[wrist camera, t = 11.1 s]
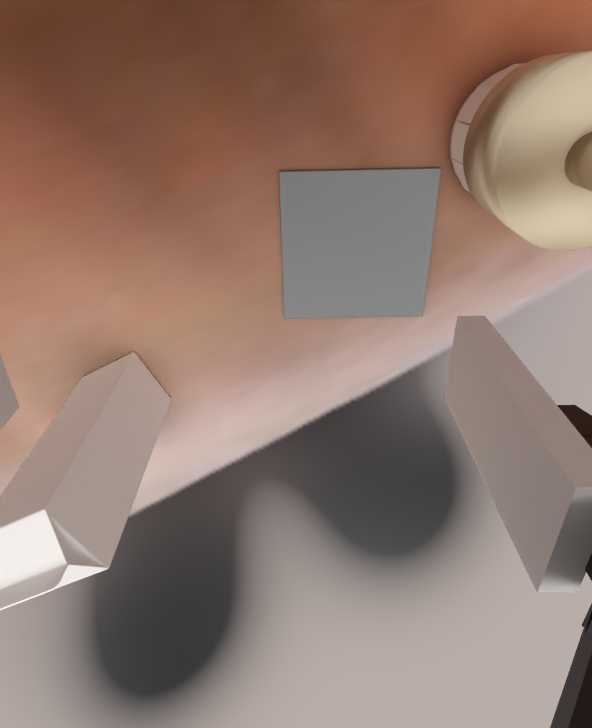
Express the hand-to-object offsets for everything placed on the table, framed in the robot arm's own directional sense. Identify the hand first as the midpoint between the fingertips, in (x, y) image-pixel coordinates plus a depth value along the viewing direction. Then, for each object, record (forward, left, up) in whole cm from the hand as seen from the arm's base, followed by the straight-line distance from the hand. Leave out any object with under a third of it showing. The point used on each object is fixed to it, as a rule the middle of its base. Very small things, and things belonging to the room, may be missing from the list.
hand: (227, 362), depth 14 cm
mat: (+5, +7, -27) cm, 28 cm away
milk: (+18, -14, -27) cm, 35 cm away
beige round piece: (-3, +18, -22) cm, 28 cm away
